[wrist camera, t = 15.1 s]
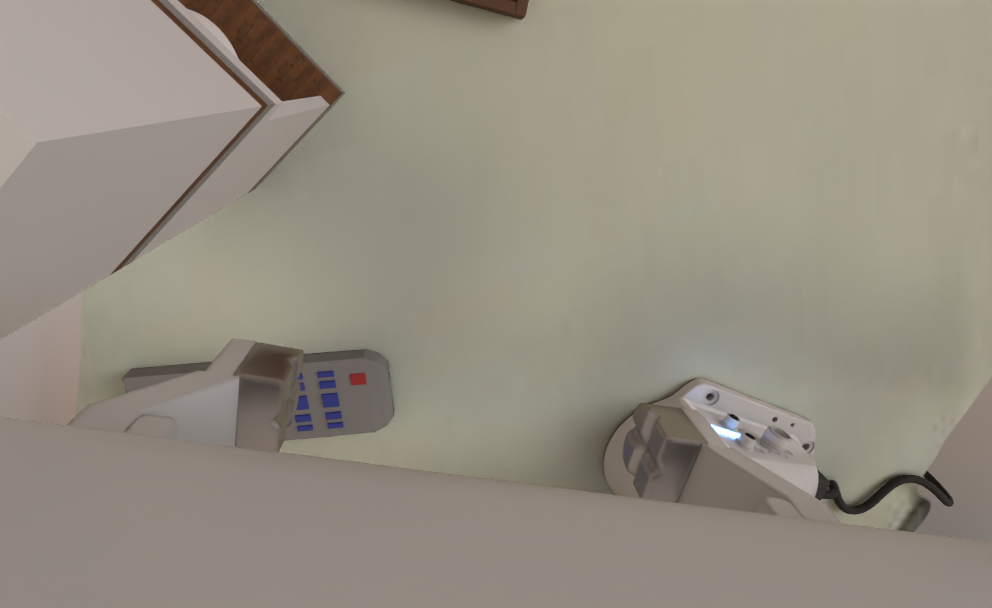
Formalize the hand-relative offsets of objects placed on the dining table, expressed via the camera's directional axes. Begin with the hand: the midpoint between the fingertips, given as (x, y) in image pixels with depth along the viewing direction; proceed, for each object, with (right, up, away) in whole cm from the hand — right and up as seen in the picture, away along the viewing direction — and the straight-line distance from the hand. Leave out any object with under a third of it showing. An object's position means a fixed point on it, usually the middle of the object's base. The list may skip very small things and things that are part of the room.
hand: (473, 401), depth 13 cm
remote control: (-21, -6, +39) cm, 44 cm away
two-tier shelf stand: (-19, +19, +29) cm, 39 cm away
